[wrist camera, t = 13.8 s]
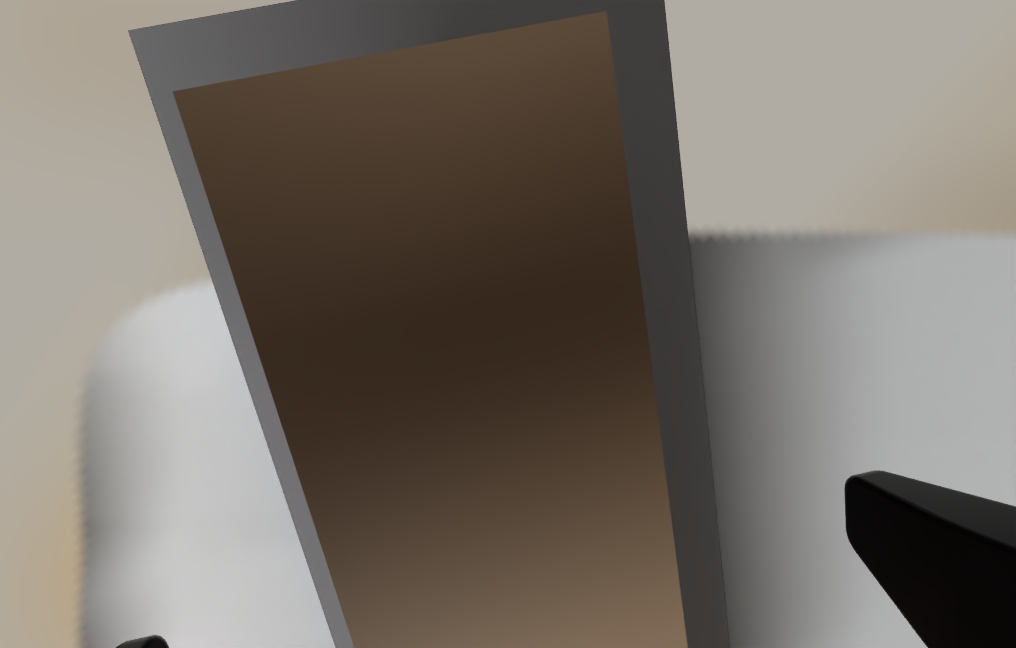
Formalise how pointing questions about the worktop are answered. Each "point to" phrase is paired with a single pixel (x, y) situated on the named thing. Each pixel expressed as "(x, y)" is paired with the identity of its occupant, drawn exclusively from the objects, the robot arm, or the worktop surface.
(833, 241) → the worktop surface
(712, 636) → the mat
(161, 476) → the worktop surface
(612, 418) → the brown wooden plank
